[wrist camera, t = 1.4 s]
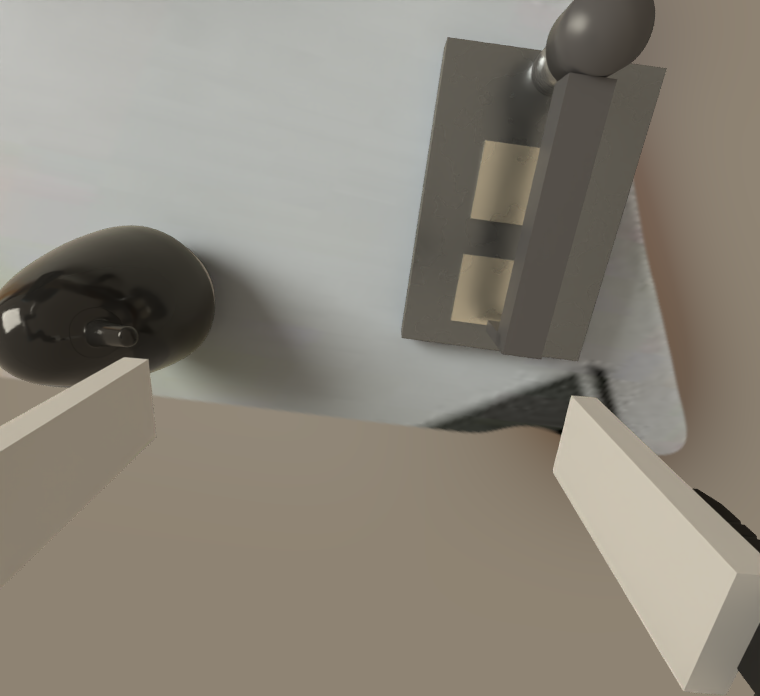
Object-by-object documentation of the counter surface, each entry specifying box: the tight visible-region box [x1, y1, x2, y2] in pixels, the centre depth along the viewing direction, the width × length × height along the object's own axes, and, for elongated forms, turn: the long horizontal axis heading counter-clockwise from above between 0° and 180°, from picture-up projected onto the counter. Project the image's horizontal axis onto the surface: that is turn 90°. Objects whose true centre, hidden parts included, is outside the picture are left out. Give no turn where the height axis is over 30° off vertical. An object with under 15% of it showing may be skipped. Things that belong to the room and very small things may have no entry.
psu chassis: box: [401, 37, 666, 361], centre depth 29 cm, size 20×14×6 cm
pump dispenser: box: [0, 225, 215, 388], centre depth 27 cm, size 10×10×15 cm
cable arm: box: [486, 0, 655, 359], centre depth 25 cm, size 19×4×6 cm, turn 173°
